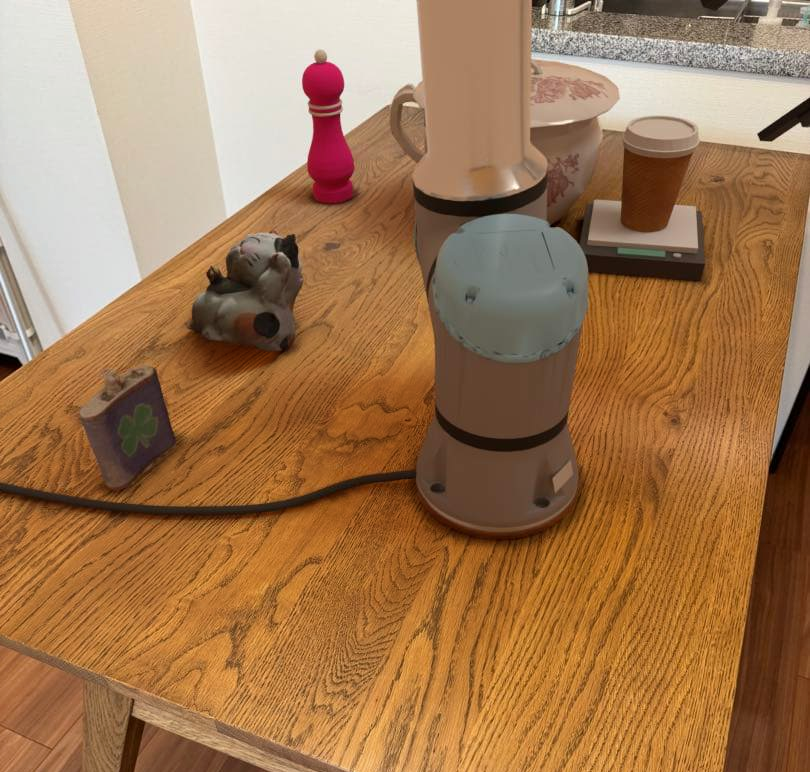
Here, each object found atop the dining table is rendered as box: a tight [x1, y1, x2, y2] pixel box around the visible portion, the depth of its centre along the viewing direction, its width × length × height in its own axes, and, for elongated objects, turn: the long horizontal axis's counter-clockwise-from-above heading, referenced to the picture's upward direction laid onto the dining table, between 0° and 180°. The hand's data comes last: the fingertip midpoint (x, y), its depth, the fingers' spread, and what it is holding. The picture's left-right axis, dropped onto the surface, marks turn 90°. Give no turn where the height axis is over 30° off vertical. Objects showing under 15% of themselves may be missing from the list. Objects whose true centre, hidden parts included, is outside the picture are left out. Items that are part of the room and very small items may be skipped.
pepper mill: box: [301, 48, 356, 204], centre depth 115 cm, size 7×7×20 cm
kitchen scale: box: [578, 199, 706, 282], centre depth 106 cm, size 16×16×3 cm
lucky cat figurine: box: [186, 229, 305, 352], centre depth 90 cm, size 15×12×14 cm
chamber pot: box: [388, 57, 621, 226], centre depth 109 cm, size 28×28×21 cm
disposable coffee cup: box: [620, 115, 701, 232], centre depth 101 cm, size 10×10×12 cm
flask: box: [78, 364, 178, 493], centre depth 74 cm, size 9×3×11 cm, turn 151°
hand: (735, 72), depth 74 cm, fingers open, 13 cm apart
